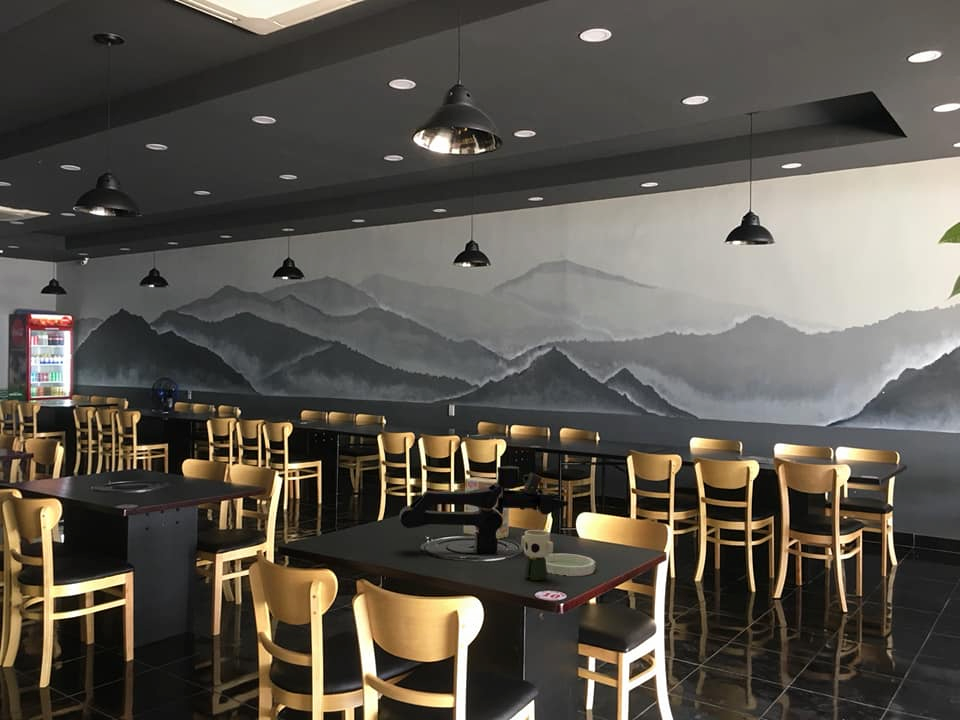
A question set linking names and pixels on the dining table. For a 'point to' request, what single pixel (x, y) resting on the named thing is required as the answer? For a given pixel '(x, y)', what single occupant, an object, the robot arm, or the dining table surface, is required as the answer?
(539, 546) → the character mug
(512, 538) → the dining table surface
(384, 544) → the dining table surface
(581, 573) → the grey ring base
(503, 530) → the coffeecake box
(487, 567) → the dining table surface
